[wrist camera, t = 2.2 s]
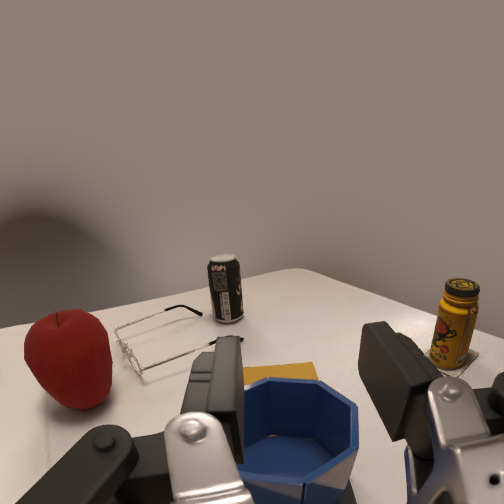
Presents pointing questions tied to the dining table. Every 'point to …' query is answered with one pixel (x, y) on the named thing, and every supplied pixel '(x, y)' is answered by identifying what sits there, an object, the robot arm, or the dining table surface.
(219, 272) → the beverage can
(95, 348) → the apple
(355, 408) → the glazed bowl
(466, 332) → the condiment
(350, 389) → the dining table surface
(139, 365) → the eyeglasses
